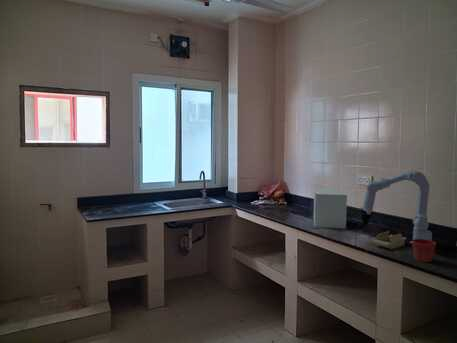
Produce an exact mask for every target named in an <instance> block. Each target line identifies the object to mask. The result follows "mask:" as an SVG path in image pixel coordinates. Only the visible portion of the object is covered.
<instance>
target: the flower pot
mask: <svg viewBox="0 0 457 343" xmlns="http://www.w3.org/2000/svg"><path fill="white" fill-rule="evenodd" d="M411 241H412V243H411V244H412V250H413V256H414V259H415V260H416V261H419V262H423V263H430V262H432V261H433V258H434V254H435V251H436V250H435V249H436V246H437V242H435V241H433V240H432V241H431V240H426V239H413V238H412V240H411Z"/></svg>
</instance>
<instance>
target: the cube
mask: <svg viewBox="0 0 457 343" xmlns="http://www.w3.org/2000/svg"><path fill="white" fill-rule="evenodd" d="M347 205H348V195H347V193H346V192H345V191H344V190H343V189H318V188H317V189H314V190H313V224H314V228H328V229H329V228H330V229H347V209H348V207H347Z"/></svg>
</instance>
